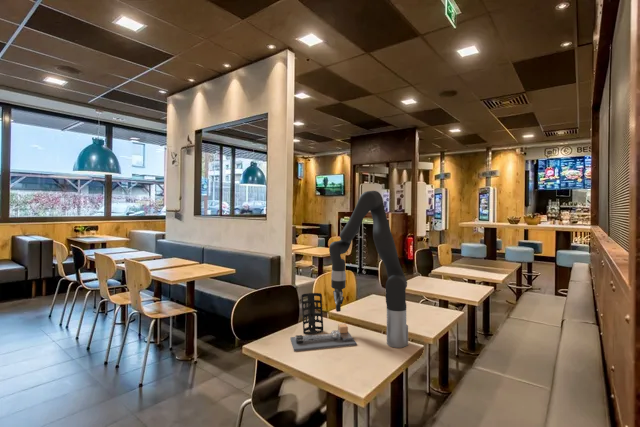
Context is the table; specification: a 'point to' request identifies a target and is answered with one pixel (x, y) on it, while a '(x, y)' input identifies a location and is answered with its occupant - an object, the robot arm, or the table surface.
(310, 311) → the holder
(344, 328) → the tab
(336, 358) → the table surface
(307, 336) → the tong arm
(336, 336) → the base
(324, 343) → the tray
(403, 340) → the robot arm
